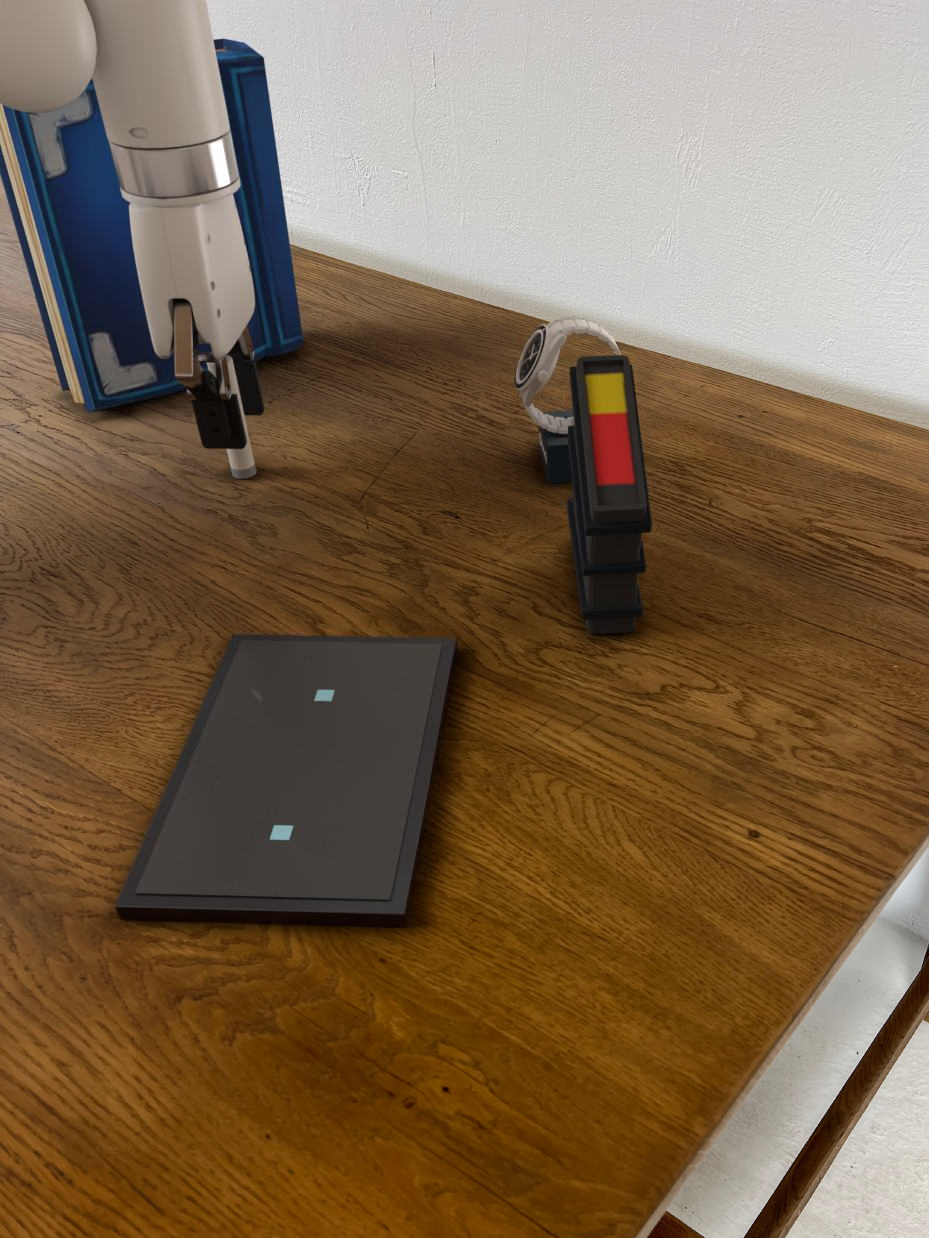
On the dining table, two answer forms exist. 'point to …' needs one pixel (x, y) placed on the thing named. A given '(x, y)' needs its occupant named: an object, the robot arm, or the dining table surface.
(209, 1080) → the dining table surface
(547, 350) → the watch
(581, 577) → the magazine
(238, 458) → the stylus
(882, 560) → the dining table surface
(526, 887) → the dining table surface
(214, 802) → the tablet
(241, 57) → the book
